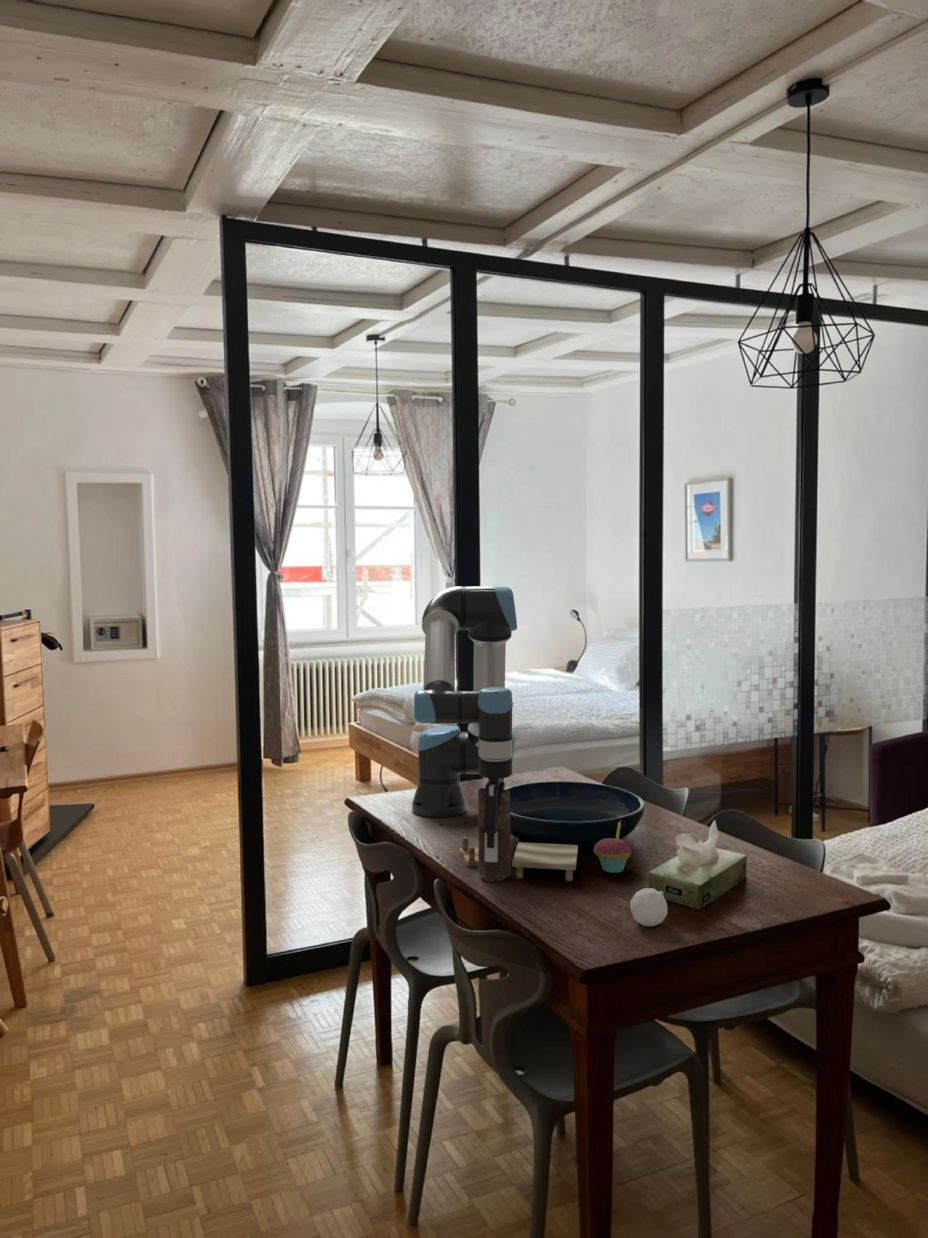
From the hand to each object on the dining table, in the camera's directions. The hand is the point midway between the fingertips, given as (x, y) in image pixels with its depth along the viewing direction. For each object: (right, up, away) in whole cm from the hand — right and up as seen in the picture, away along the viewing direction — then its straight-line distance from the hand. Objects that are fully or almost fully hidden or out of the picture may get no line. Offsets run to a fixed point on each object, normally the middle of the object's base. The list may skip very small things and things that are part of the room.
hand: (494, 851), depth 211 cm
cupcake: (+27, -6, +5) cm, 28 cm away
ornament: (+29, -8, -26) cm, 40 cm away
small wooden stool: (+12, -5, +5) cm, 14 cm away
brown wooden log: (0, -6, 0) cm, 6 cm away
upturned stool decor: (-2, -5, +13) cm, 14 cm away
